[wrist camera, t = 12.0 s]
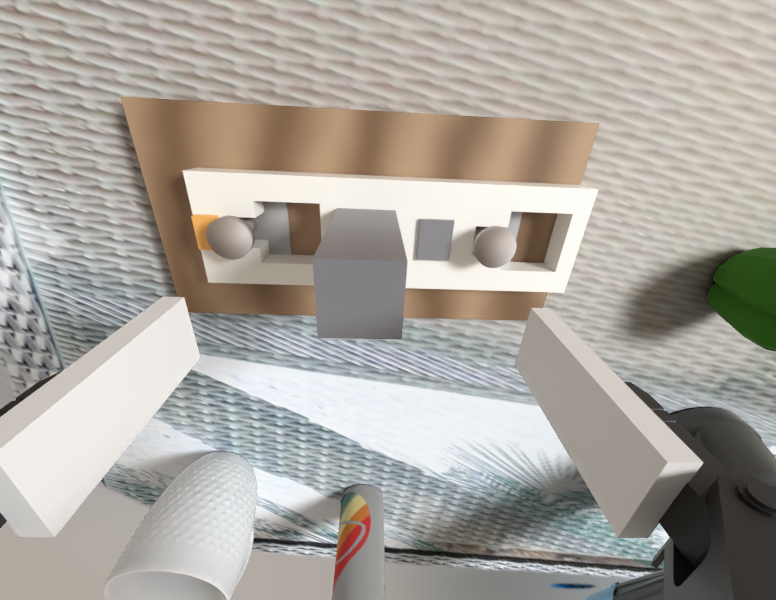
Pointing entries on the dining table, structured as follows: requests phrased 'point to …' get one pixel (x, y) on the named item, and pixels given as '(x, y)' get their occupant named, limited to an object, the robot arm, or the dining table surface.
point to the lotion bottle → (360, 546)
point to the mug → (192, 536)
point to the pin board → (343, 156)
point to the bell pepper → (748, 295)
